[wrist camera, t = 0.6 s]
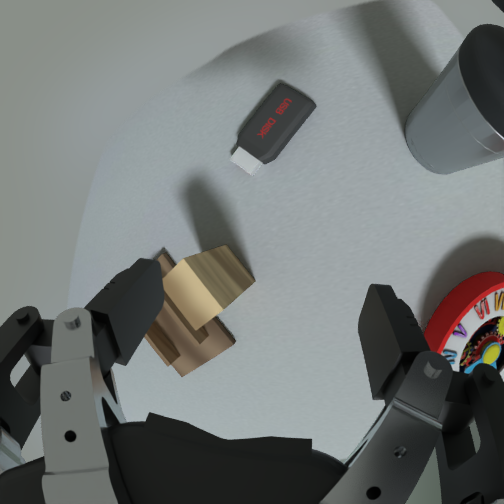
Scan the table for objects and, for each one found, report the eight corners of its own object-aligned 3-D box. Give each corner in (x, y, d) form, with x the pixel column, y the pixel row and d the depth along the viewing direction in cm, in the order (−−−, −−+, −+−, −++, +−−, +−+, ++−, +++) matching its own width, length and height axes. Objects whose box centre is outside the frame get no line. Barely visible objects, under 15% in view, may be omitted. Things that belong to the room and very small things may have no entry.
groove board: (166, 252, 38) (149, 257, 34) (236, 341, 37) (225, 354, 33) (125, 297, 42) (109, 303, 38) (184, 374, 41) (172, 386, 37)
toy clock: (532, 250, 19) (542, 365, 19) (509, 244, 25) (526, 350, 24) (411, 338, 25) (441, 437, 25) (400, 319, 31) (433, 414, 30)
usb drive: (317, 107, 30) (315, 99, 28) (260, 180, 34) (254, 178, 31) (283, 87, 31) (279, 78, 28) (229, 157, 34) (221, 153, 32)
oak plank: (226, 244, 36) (183, 258, 25) (255, 281, 35) (223, 309, 25) (205, 263, 37) (158, 282, 26) (233, 298, 36) (195, 330, 26)
